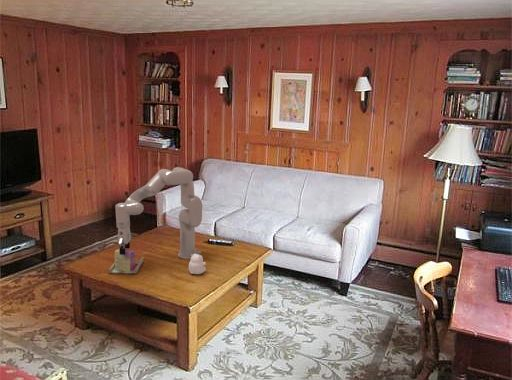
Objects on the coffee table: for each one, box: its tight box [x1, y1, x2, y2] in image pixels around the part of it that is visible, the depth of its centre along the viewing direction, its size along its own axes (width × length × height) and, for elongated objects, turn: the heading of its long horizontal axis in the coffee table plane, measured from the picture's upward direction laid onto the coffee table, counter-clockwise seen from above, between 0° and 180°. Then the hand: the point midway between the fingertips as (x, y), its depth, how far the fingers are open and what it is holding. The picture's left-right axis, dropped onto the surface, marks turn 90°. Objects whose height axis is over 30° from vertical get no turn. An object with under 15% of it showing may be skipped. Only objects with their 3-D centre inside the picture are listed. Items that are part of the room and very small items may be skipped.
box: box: [114, 248, 136, 272], centre depth 256 cm, size 10×6×12 cm, turn 76°
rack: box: [108, 256, 145, 276], centre depth 262 cm, size 16×20×3 cm
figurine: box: [188, 253, 207, 275], centre depth 257 cm, size 10×10×12 cm
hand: (124, 251), depth 255 cm, fingers open, 9 cm apart
